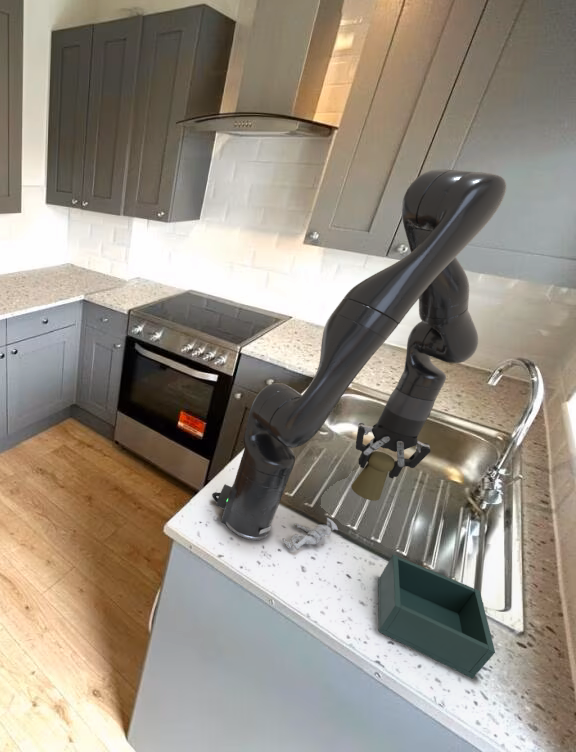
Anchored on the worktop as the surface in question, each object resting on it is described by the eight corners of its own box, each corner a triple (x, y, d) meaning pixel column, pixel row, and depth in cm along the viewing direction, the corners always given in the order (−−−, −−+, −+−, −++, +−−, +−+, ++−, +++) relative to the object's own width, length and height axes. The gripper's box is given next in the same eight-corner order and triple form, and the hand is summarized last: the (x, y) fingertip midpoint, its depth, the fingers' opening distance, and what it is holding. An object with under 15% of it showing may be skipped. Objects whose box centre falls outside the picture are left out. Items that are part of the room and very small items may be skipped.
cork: (358, 498, 101) (376, 461, 96) (346, 481, 107) (364, 445, 102) (385, 502, 101) (405, 465, 96) (372, 485, 106) (391, 449, 101)
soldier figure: (272, 537, 92) (309, 507, 95) (285, 558, 91) (322, 527, 95) (297, 541, 84) (336, 508, 88) (312, 564, 84) (351, 529, 87)
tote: (378, 631, 73) (395, 605, 70) (378, 579, 83) (392, 554, 80) (472, 678, 67) (495, 652, 64) (460, 616, 77) (480, 590, 74)
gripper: (445, 414, 93) (411, 475, 100) (368, 392, 100) (342, 451, 107) (450, 429, 87) (413, 493, 95) (368, 405, 94) (340, 466, 101)
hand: (376, 470), depth 101 cm, fingers closed on cork, 5 cm apart
